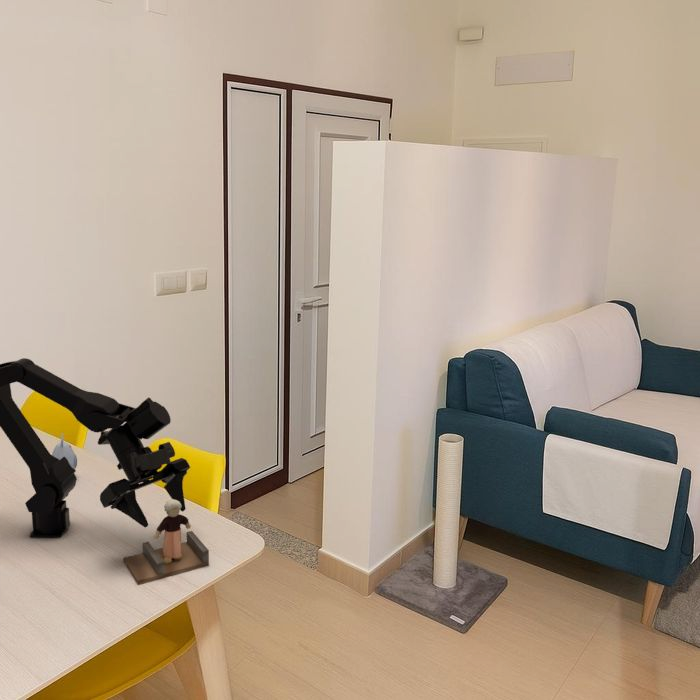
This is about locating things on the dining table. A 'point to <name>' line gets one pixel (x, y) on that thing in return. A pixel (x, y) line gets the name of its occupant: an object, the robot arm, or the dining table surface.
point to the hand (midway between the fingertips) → (165, 518)
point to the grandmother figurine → (172, 531)
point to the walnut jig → (154, 568)
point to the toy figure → (65, 452)
